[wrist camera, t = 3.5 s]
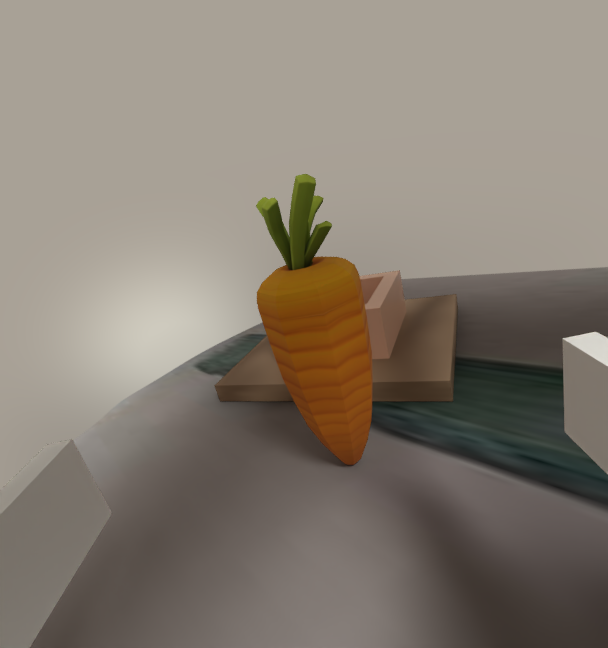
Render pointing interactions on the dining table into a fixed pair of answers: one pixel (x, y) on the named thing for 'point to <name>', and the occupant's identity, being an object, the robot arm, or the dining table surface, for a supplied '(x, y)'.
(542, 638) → the dining table surface
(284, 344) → the carrot
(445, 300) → the walnut board
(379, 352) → the pink square planter box
